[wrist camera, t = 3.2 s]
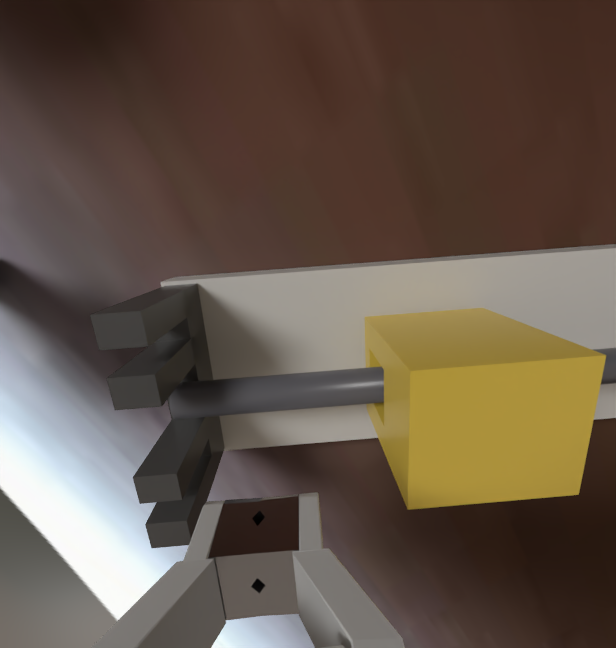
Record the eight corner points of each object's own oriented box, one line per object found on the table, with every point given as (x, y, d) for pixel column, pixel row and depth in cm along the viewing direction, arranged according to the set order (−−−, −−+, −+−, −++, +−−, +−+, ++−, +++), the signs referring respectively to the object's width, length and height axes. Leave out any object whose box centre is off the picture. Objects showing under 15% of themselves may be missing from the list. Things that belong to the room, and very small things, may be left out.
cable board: (175, 277, 18) (81, 309, 10) (768, 232, 18) (1115, 230, 10) (203, 432, 20) (147, 552, 13) (719, 389, 21) (966, 479, 13)
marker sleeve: (364, 316, 16) (410, 370, 10) (482, 307, 16) (606, 355, 10) (366, 408, 17) (407, 509, 11) (475, 399, 17) (578, 495, 11)
